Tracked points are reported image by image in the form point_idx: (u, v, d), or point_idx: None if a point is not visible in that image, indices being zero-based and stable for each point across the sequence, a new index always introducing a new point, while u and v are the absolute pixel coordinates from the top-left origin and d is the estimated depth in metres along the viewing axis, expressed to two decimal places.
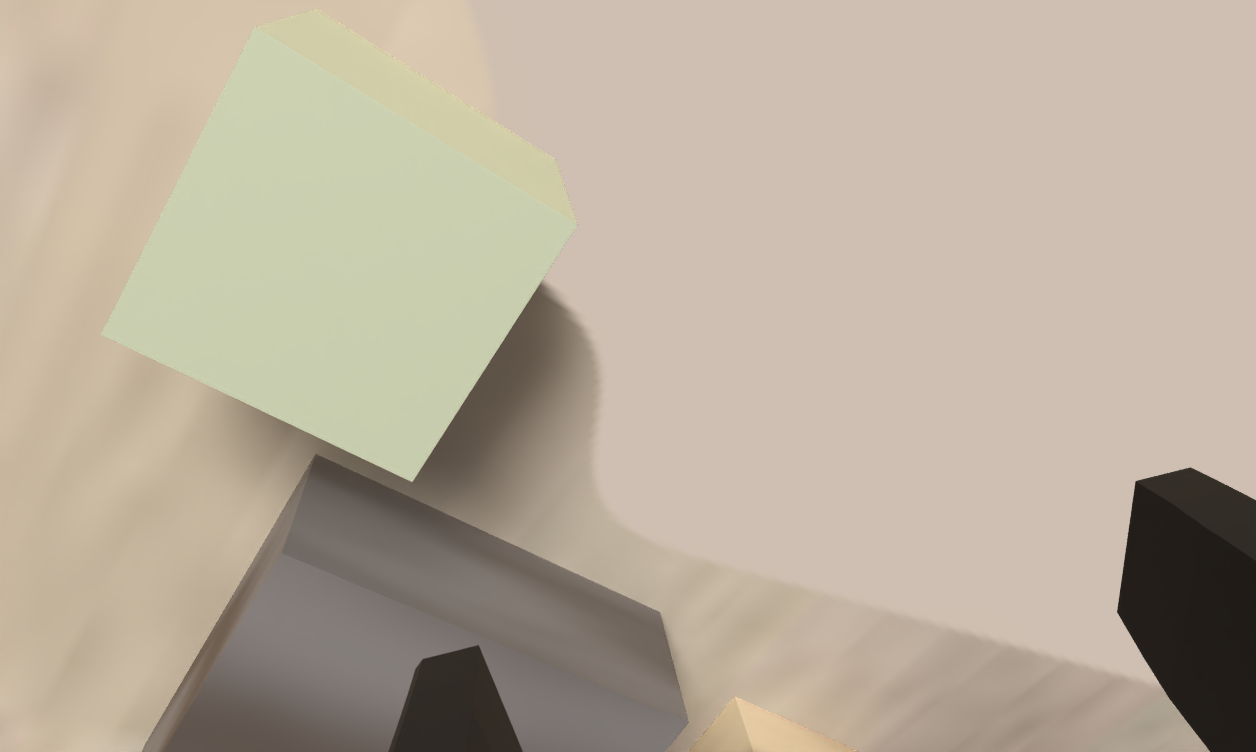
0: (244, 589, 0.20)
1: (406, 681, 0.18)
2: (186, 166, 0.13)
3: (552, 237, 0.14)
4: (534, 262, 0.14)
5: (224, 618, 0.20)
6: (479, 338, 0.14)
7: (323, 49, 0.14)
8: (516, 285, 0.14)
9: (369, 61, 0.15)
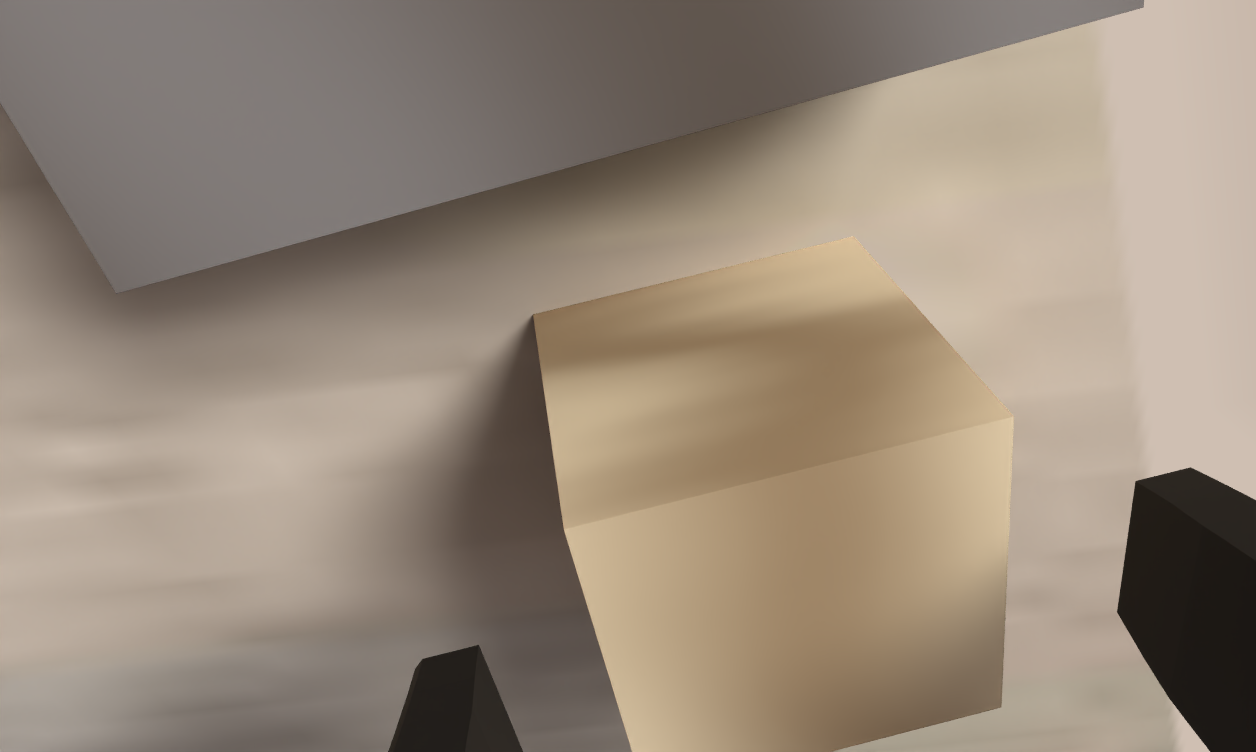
0: None
1: None
2: None
3: None
4: None
5: None
6: None
7: None
8: None
9: None
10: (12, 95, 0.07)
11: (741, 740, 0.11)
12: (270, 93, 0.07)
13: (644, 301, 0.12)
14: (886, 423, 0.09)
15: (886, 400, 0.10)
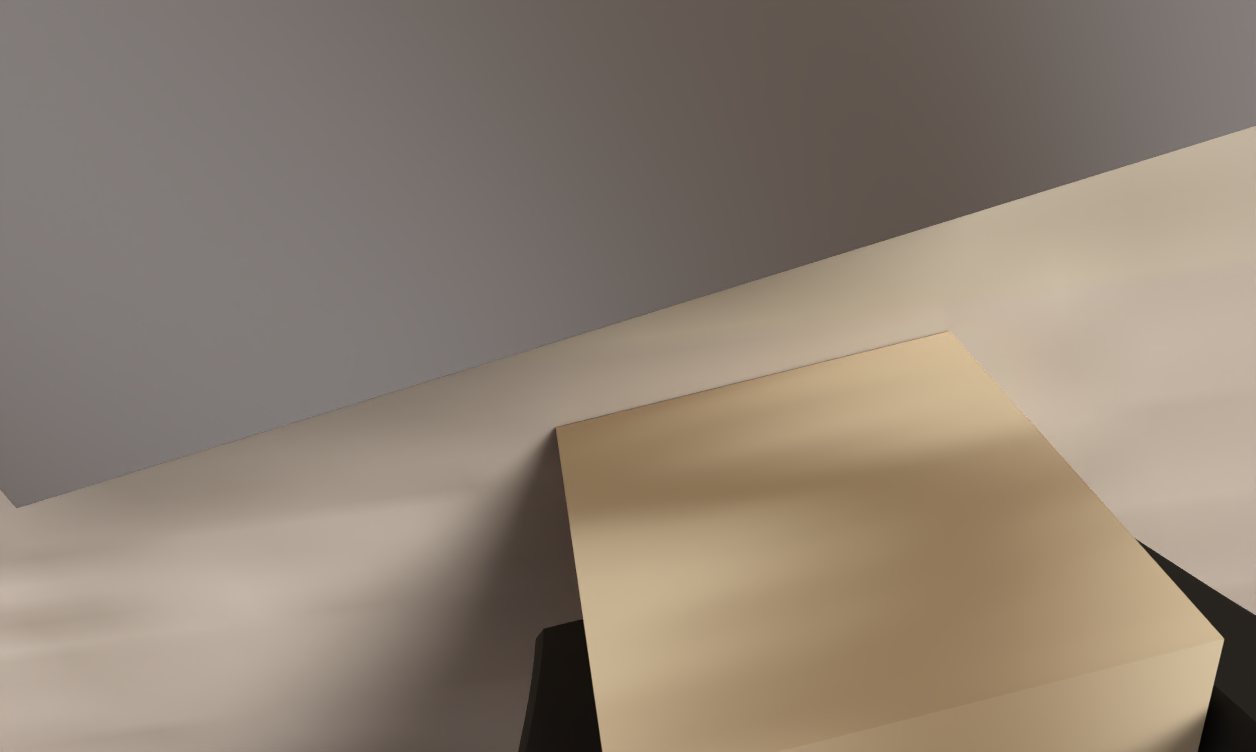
0: None
1: None
2: None
3: None
4: None
5: None
6: None
7: None
8: None
9: None
10: None
11: None
12: (217, 234, 0.05)
13: (696, 419, 0.10)
14: (1043, 637, 0.07)
15: (1035, 596, 0.07)
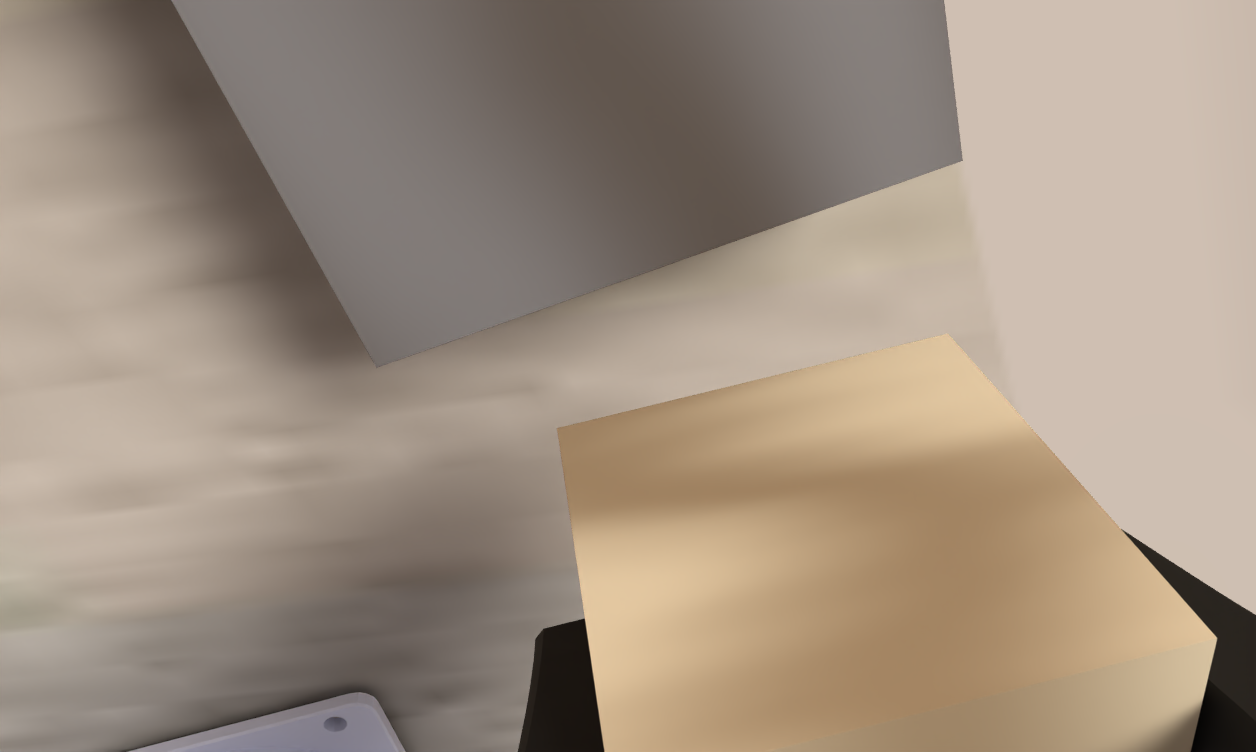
0: None
1: None
2: None
3: None
4: None
5: None
6: None
7: None
8: None
9: None
10: (329, 267, 0.13)
11: None
12: (464, 253, 0.13)
13: (697, 420, 0.10)
14: (1039, 636, 0.07)
15: (1032, 594, 0.07)
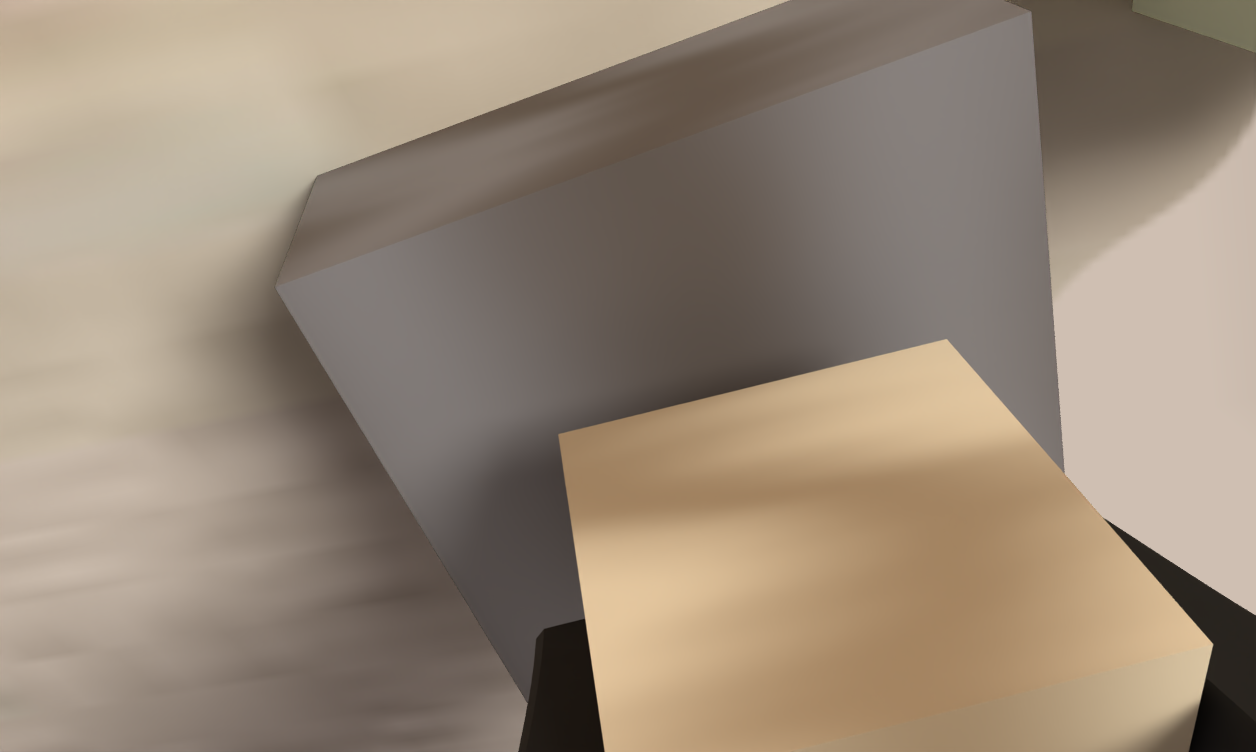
0: (744, 50, 0.12)
1: (931, 309, 0.12)
2: None
3: None
4: None
5: (646, 74, 0.13)
6: None
7: None
8: None
9: None
10: (518, 674, 0.15)
11: None
12: None
13: (696, 427, 0.10)
14: (1036, 642, 0.07)
15: (1029, 602, 0.07)
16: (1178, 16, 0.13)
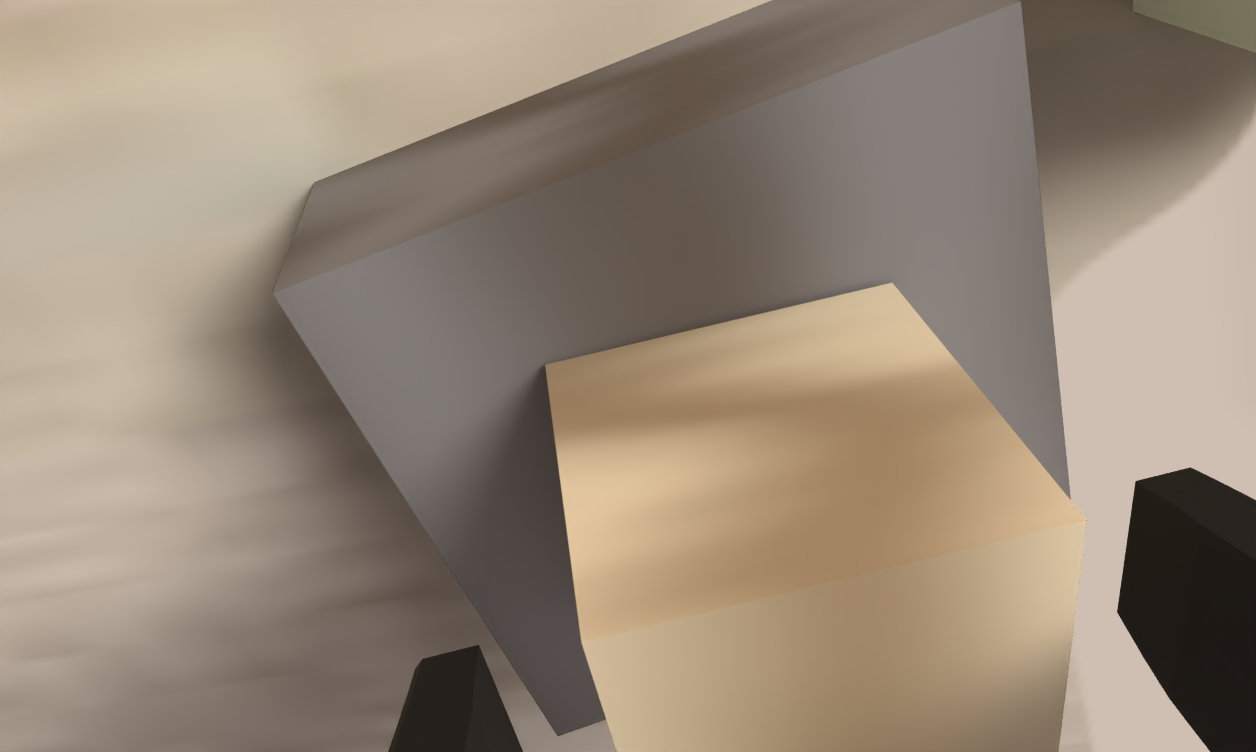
0: (735, 46, 0.12)
1: (928, 301, 0.12)
2: None
3: None
4: None
5: (639, 72, 0.13)
6: None
7: None
8: None
9: None
10: (525, 673, 0.15)
11: None
12: None
13: (667, 357, 0.11)
14: (943, 521, 0.08)
15: (940, 490, 0.09)
16: (1178, 16, 0.13)
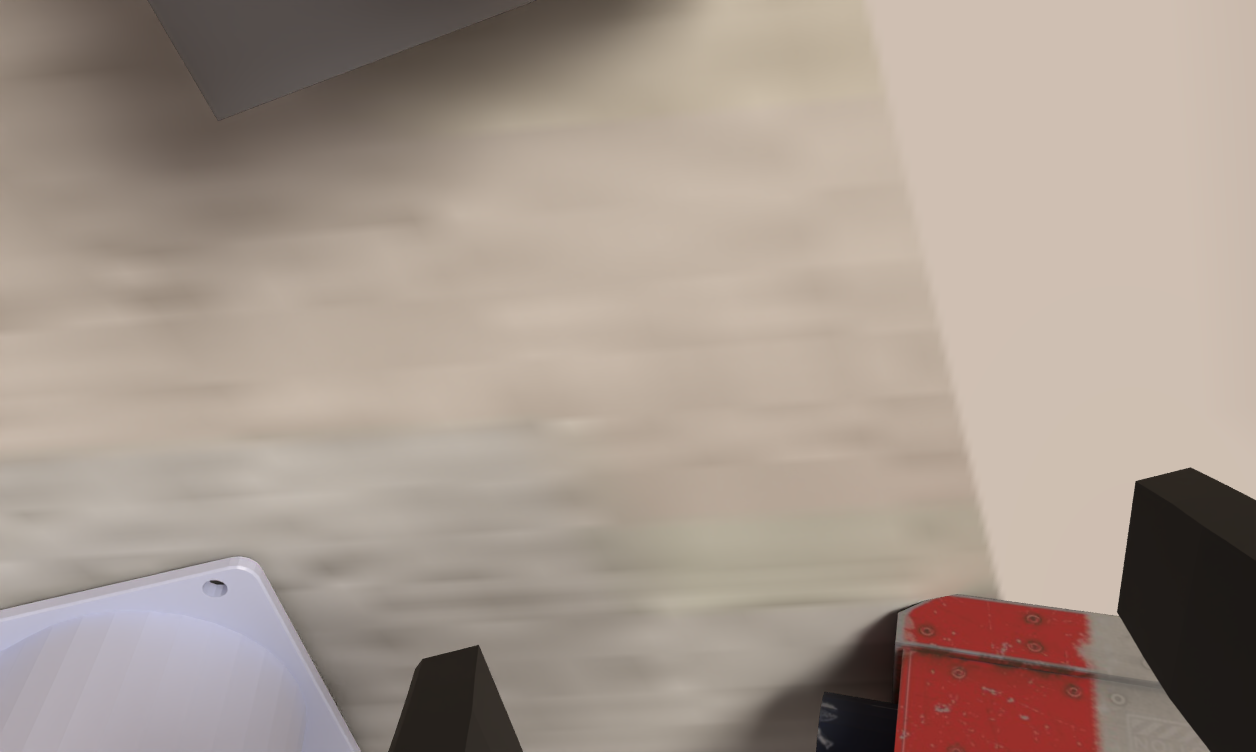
0: None
1: None
2: None
3: None
4: None
5: None
6: None
7: None
8: None
9: None
10: None
11: None
12: None
13: None
14: None
15: None
16: None
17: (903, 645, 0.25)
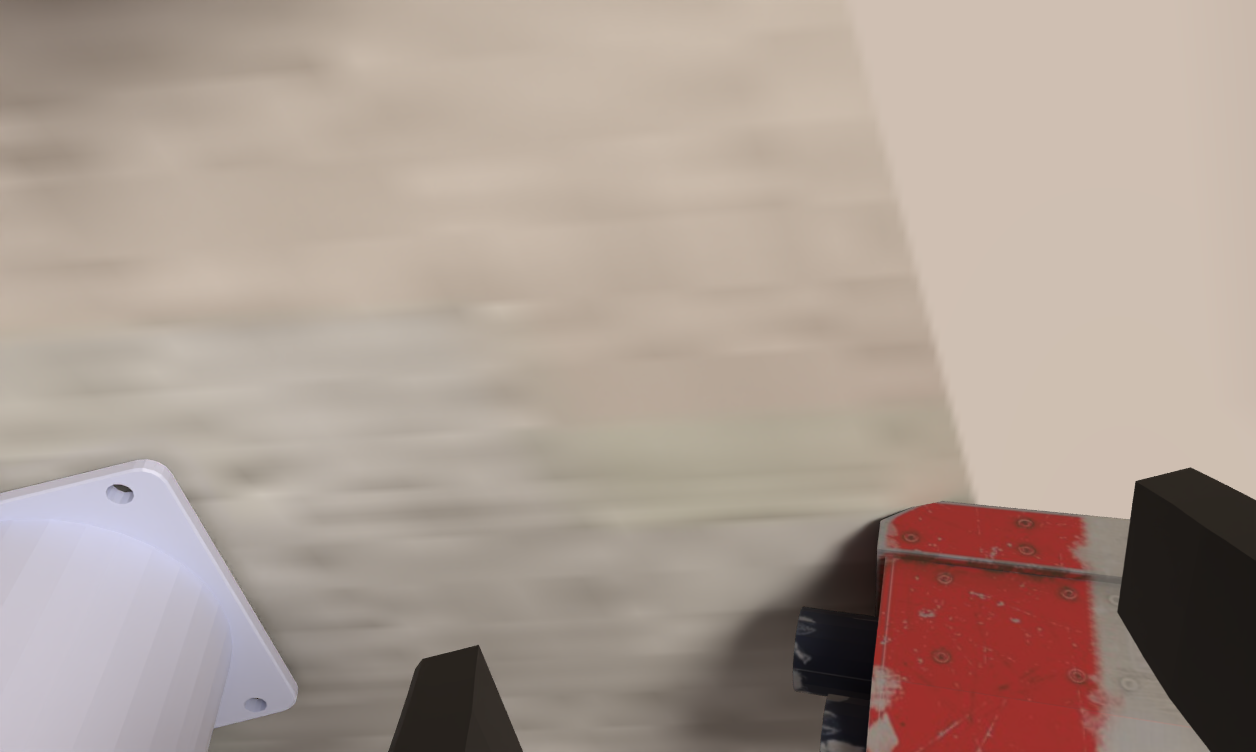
0: None
1: None
2: None
3: None
4: None
5: None
6: None
7: None
8: None
9: None
10: None
11: None
12: None
13: None
14: None
15: None
16: None
17: (885, 552, 0.23)
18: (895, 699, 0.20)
